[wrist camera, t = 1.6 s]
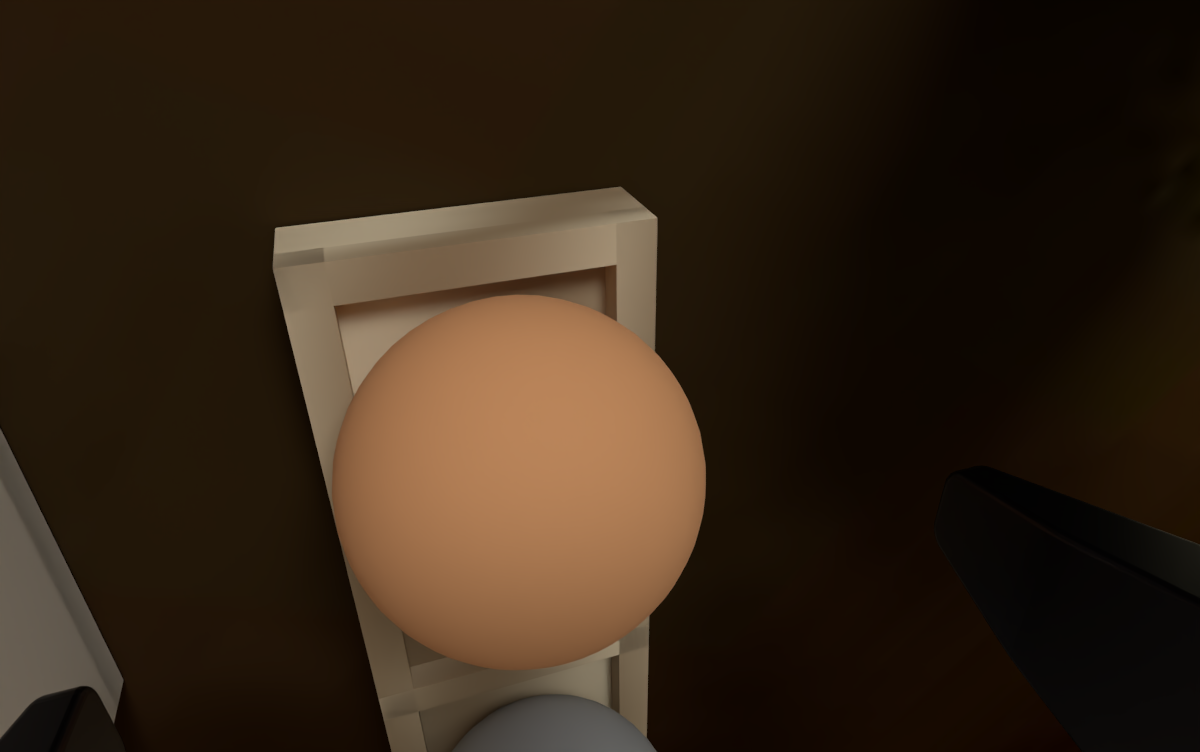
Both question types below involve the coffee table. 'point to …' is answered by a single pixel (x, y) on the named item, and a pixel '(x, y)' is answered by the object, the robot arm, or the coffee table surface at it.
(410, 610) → the terracotta ball
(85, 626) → the ceramic trough
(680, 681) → the coffee table surface
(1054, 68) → the coffee table surface
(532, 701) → the ball slate grey
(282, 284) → the frame
